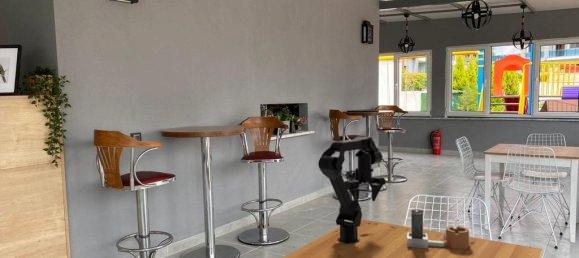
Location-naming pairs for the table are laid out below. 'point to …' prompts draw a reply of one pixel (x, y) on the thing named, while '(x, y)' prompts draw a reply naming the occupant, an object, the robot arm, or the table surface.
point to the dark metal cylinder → (417, 224)
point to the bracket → (457, 237)
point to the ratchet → (425, 242)
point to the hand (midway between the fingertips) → (364, 202)
